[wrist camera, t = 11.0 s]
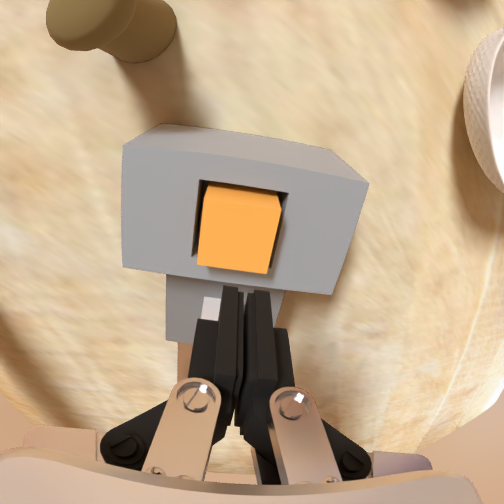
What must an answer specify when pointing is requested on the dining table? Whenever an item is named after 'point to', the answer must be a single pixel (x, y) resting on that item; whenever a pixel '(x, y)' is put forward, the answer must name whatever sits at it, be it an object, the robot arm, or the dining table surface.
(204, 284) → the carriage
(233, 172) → the grey button housing
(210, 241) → the button
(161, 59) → the dining table surface
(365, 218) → the dining table surface
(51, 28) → the cork
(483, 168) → the cereal bowl
